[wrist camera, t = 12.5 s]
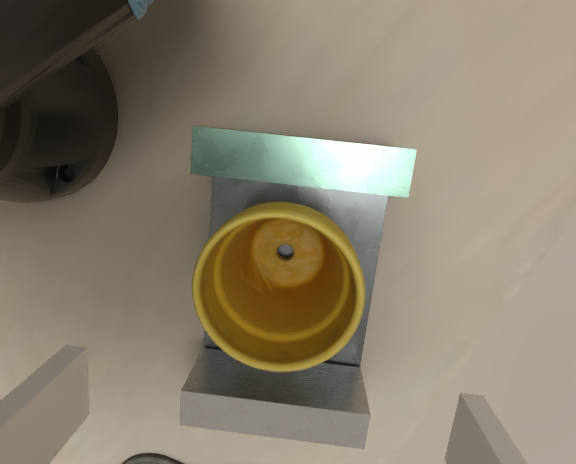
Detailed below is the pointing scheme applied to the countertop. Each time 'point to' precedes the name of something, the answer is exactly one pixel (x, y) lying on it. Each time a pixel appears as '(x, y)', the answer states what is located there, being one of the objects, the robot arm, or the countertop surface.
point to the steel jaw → (277, 401)
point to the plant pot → (279, 287)
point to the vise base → (307, 191)
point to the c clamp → (150, 459)
